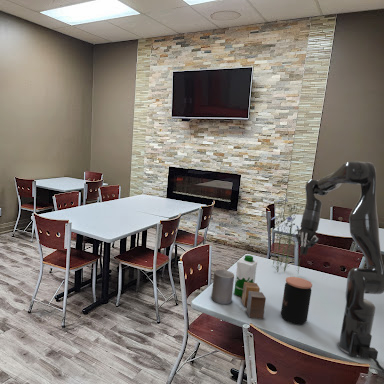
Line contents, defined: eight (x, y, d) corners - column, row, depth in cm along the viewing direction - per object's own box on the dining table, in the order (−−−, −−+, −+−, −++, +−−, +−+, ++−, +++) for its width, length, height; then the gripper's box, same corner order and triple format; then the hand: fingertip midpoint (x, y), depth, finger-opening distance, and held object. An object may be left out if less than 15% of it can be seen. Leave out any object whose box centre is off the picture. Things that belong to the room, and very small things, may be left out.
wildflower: (307, 280, 198) (318, 205, 191) (266, 274, 202) (276, 201, 195) (296, 266, 220) (306, 199, 213) (259, 262, 224) (268, 195, 217)
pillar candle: (207, 295, 170) (210, 267, 167) (224, 294, 173) (227, 266, 170) (218, 305, 161) (221, 275, 158) (235, 303, 164) (239, 274, 161)
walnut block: (263, 319, 150) (265, 298, 149) (249, 317, 151) (251, 296, 149) (259, 312, 156) (262, 292, 155) (246, 310, 157) (248, 290, 155)
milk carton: (254, 294, 174) (259, 257, 171) (248, 300, 168) (252, 262, 165) (238, 289, 180) (242, 253, 177) (231, 294, 173) (235, 257, 170)
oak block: (257, 308, 160) (259, 288, 159) (244, 306, 161) (246, 287, 159) (254, 302, 166) (256, 283, 164) (241, 300, 167) (243, 281, 165)
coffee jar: (284, 310, 159) (289, 274, 156) (309, 319, 153) (314, 281, 150) (277, 319, 151) (282, 281, 148) (303, 328, 144) (309, 289, 141)
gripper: (294, 217, 170) (287, 250, 170) (315, 219, 158) (307, 255, 157) (306, 220, 172) (299, 253, 172) (327, 223, 160) (320, 258, 159)
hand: (303, 254), depth 164 cm, fingers closed
